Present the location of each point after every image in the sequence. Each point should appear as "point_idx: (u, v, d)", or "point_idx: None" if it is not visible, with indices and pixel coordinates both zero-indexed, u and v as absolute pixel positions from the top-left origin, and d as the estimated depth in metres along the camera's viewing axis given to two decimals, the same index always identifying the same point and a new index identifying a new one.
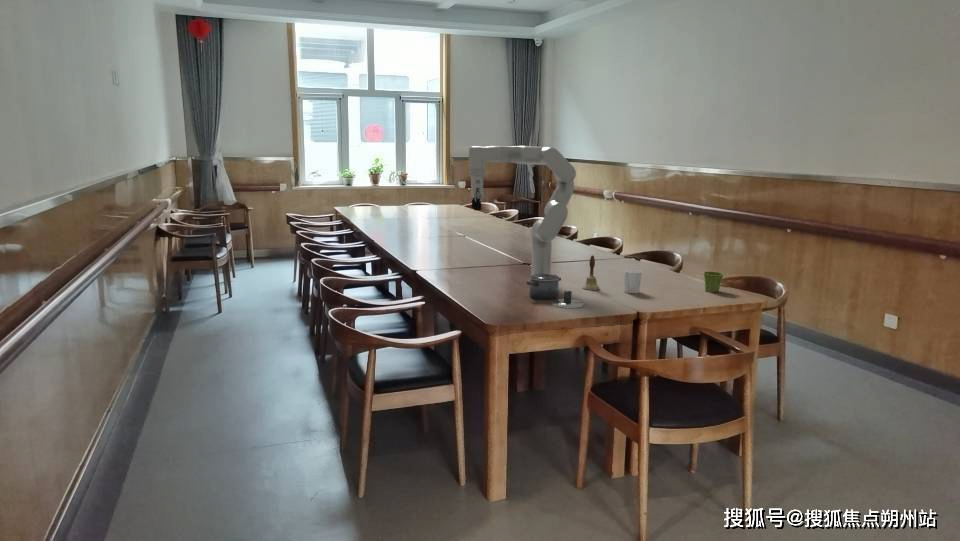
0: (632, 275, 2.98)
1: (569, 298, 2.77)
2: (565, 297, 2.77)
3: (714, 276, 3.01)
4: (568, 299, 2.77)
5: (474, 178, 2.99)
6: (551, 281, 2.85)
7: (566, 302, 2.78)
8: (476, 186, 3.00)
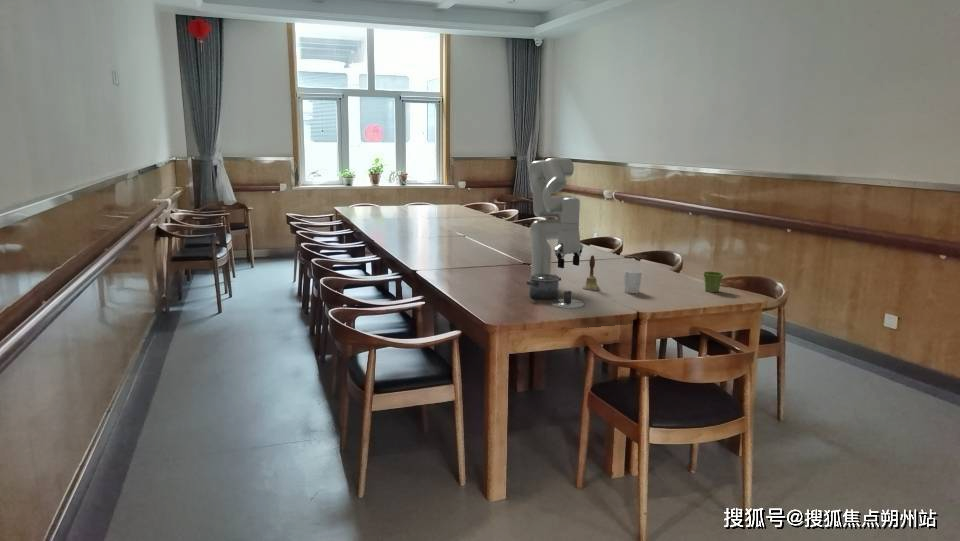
0: (632, 275, 2.98)
1: (569, 298, 2.77)
2: (565, 297, 2.77)
3: (714, 276, 3.01)
4: (568, 299, 2.77)
5: None
6: (551, 281, 2.85)
7: (566, 302, 2.78)
8: None
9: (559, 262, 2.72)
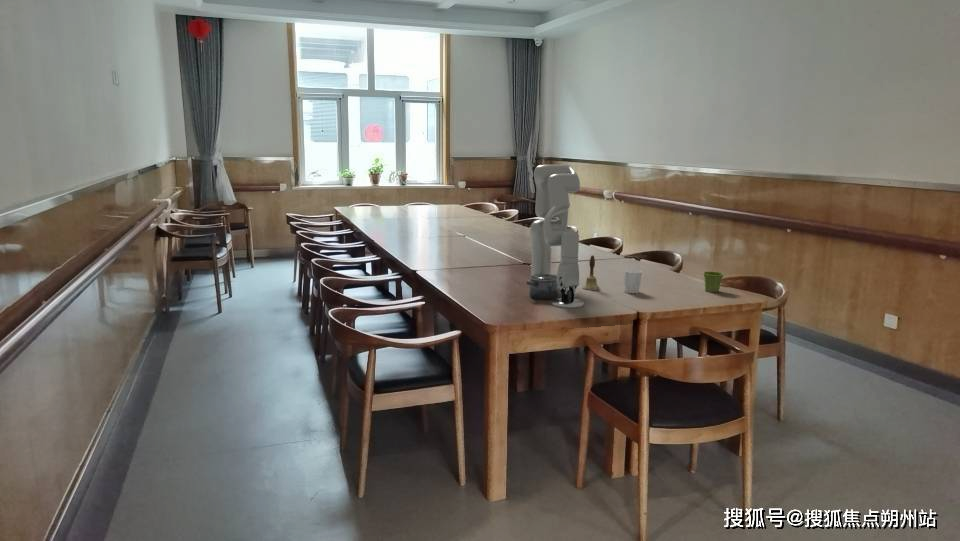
0: (632, 275, 2.98)
1: (569, 297, 2.77)
2: None
3: (714, 276, 3.01)
4: (568, 298, 2.77)
5: None
6: (551, 281, 2.85)
7: None
8: None
9: (563, 297, 2.77)
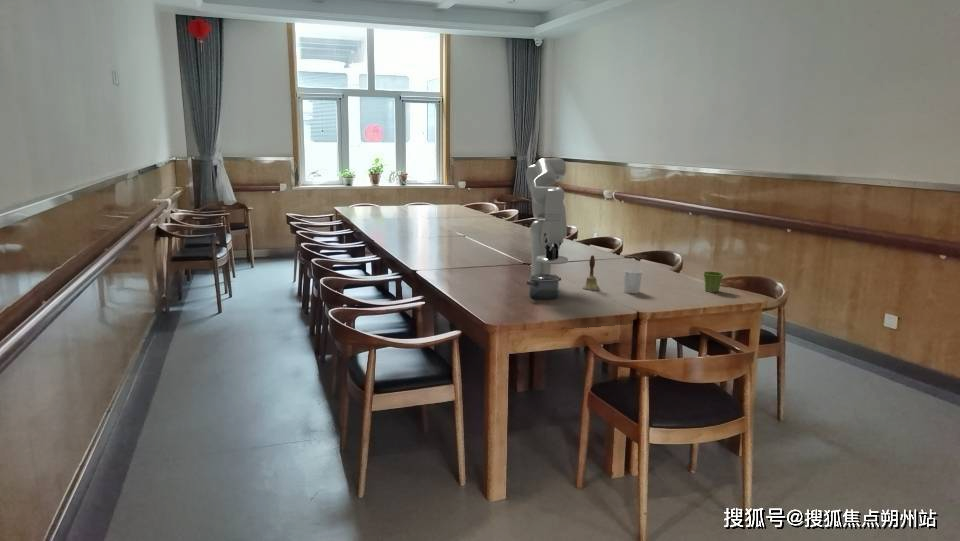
0: (632, 275, 2.98)
1: (554, 254, 2.83)
2: None
3: (714, 276, 3.01)
4: (553, 255, 2.83)
5: None
6: (551, 281, 2.85)
7: None
8: None
9: (547, 253, 2.83)
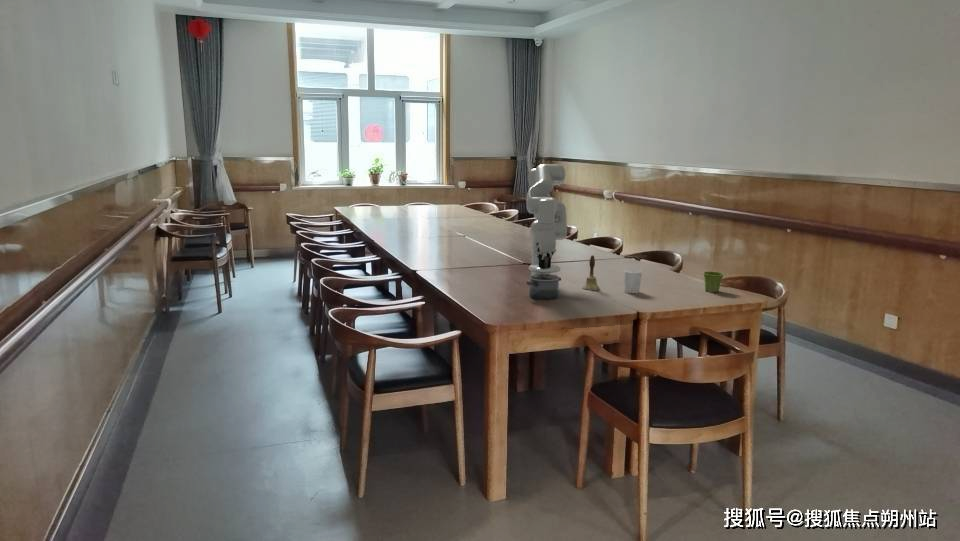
0: (632, 275, 2.98)
1: (546, 263, 2.88)
2: None
3: (714, 276, 3.01)
4: (545, 264, 2.88)
5: None
6: (551, 281, 2.85)
7: None
8: None
9: (540, 262, 2.87)
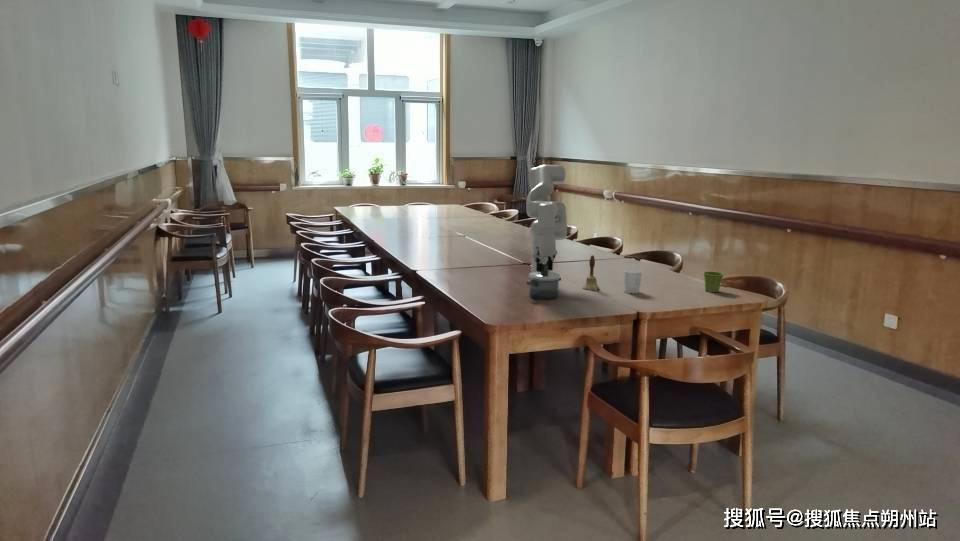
0: (632, 275, 2.98)
1: (546, 270, 2.89)
2: None
3: (714, 276, 3.01)
4: (545, 271, 2.89)
5: None
6: (551, 281, 2.85)
7: (543, 274, 2.89)
8: None
9: (538, 266, 2.87)
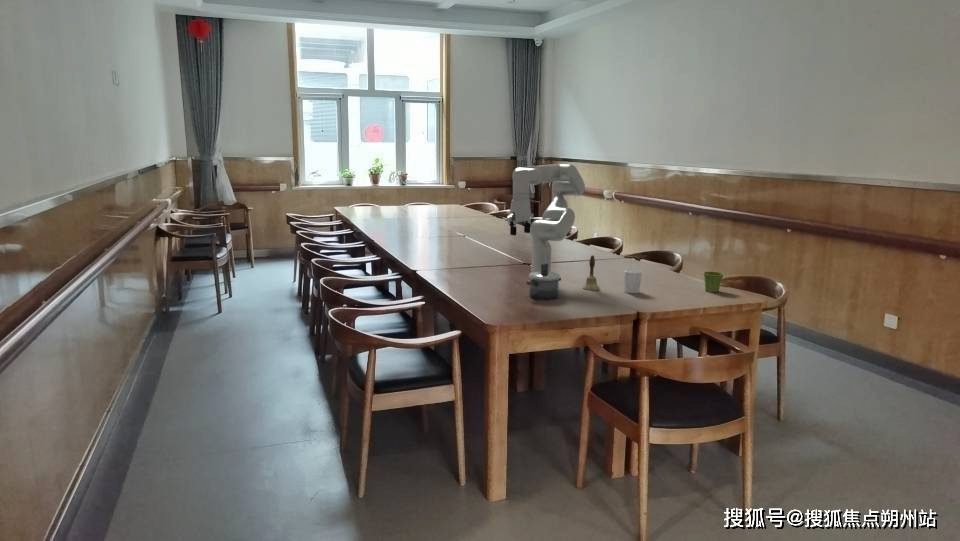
0: (632, 275, 2.98)
1: (546, 270, 2.89)
2: (542, 269, 2.89)
3: (714, 276, 3.01)
4: (545, 271, 2.89)
5: None
6: (551, 281, 2.85)
7: (543, 274, 2.89)
8: None
9: (512, 230, 2.91)
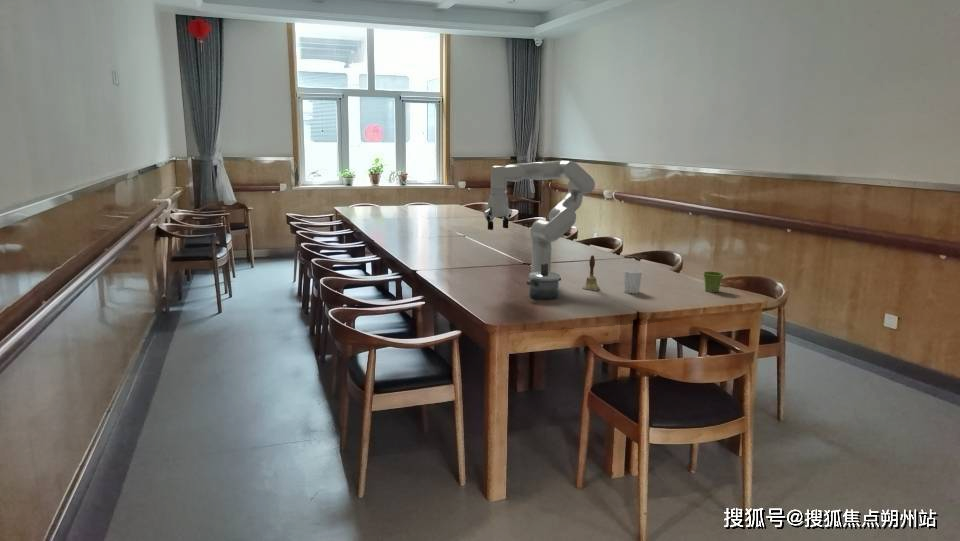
0: (632, 275, 2.98)
1: (546, 270, 2.89)
2: (542, 269, 2.89)
3: (714, 276, 3.01)
4: (545, 271, 2.89)
5: None
6: (551, 281, 2.85)
7: (543, 274, 2.89)
8: None
9: (488, 224, 3.00)
